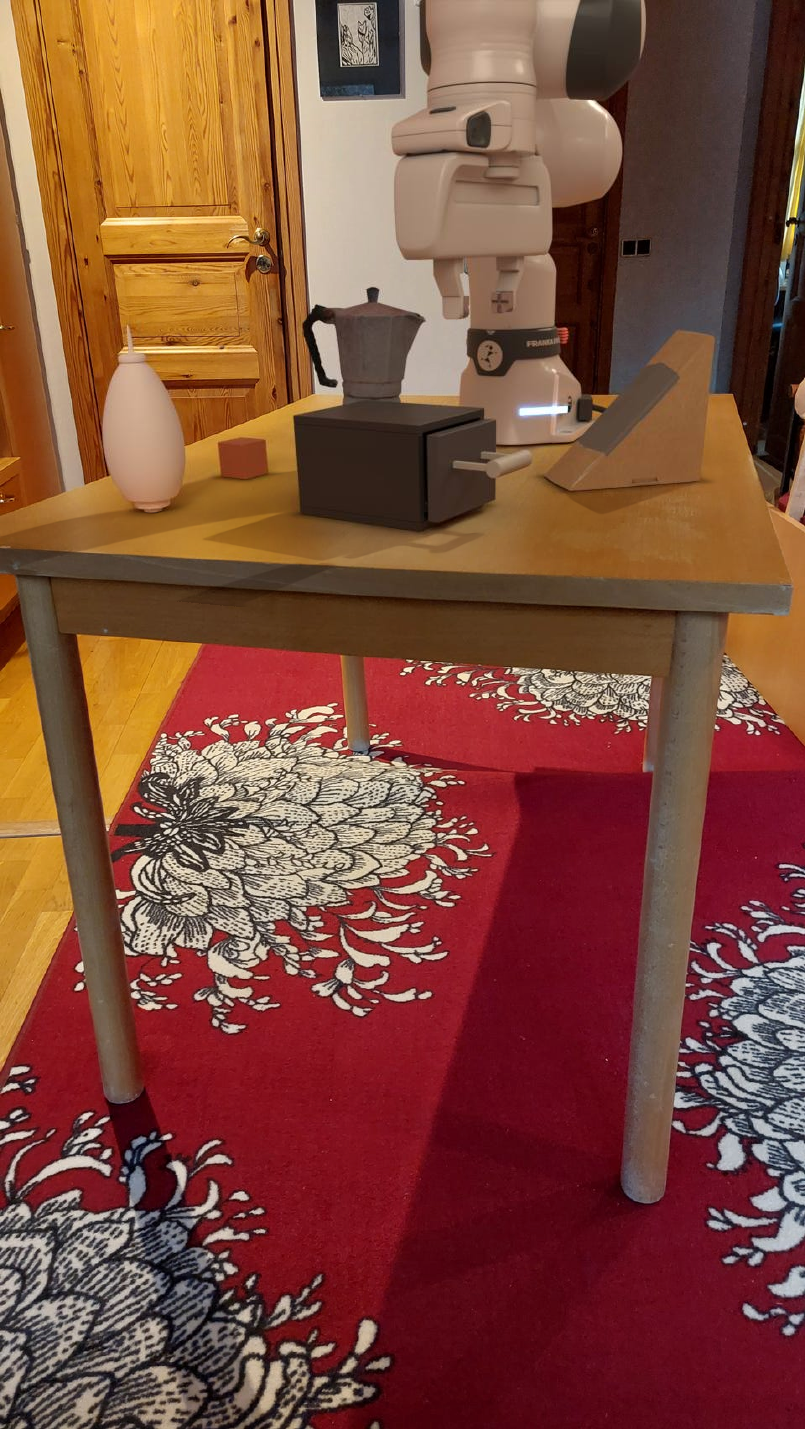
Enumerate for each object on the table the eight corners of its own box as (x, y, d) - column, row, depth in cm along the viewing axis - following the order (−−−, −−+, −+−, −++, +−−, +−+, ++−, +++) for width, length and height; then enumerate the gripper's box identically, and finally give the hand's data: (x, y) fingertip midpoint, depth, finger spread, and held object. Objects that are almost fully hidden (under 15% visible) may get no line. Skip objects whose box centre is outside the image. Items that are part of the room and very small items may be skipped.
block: (244, 470, 120) (241, 437, 118) (268, 473, 118) (265, 439, 116) (221, 476, 117) (217, 442, 115) (245, 479, 115) (242, 445, 113)
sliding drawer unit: (542, 505, 95) (544, 422, 92) (487, 530, 87) (488, 440, 84) (386, 486, 105) (383, 411, 102) (324, 506, 97) (319, 426, 94)
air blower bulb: (100, 518, 100) (69, 328, 92) (138, 500, 106) (112, 322, 99) (169, 521, 98) (143, 327, 90) (204, 502, 104) (183, 321, 97)
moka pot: (421, 468, 118) (417, 287, 109) (298, 467, 121) (285, 290, 112) (435, 453, 126) (432, 284, 117) (319, 452, 129) (309, 287, 120)
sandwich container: (541, 476, 112) (545, 335, 105) (666, 466, 114) (677, 329, 108) (567, 491, 104) (574, 341, 98) (701, 481, 107) (715, 334, 100)
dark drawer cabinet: (483, 506, 99) (484, 408, 95) (420, 531, 91) (417, 425, 87) (368, 491, 107) (364, 400, 103) (300, 513, 99) (292, 415, 95)
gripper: (510, 145, 89) (507, 309, 95) (377, 127, 74) (384, 323, 80) (573, 139, 86) (566, 309, 92) (447, 119, 71) (449, 324, 77)
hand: (480, 316), depth 86 cm, fingers open, 7 cm apart
